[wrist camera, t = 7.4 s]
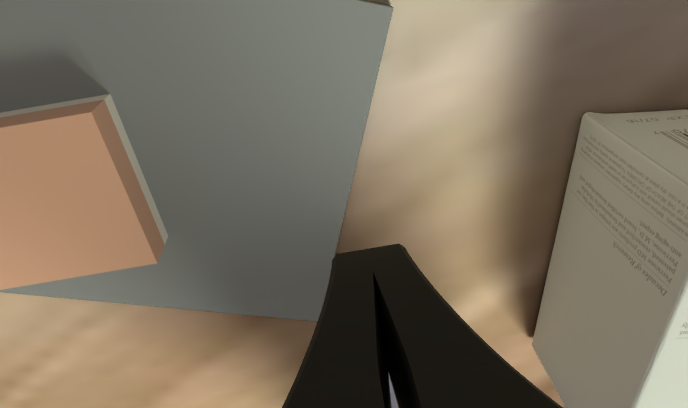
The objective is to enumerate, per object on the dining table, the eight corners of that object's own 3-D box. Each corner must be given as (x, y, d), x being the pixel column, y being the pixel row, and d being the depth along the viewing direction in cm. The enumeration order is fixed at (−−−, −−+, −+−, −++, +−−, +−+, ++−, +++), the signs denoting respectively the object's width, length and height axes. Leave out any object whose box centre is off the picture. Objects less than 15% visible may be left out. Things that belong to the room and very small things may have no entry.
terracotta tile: (91, 112, 15) (-98, 144, 15) (157, 263, 18) (-1, 290, 19) (110, 93, 17) (-62, 123, 17) (168, 235, 20) (22, 260, 20)
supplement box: (577, 107, 19) (523, 345, 25) (724, 204, 13) (603, 488, 19) (756, 97, 20) (660, 332, 26) (984, 185, 13) (782, 468, 20)
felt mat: (318, 315, 23) (319, 321, 23) (-33, 282, 21) (-38, 288, 21) (391, 5, 17) (393, 7, 16) (-117, -100, 14) (-128, -100, 14)
